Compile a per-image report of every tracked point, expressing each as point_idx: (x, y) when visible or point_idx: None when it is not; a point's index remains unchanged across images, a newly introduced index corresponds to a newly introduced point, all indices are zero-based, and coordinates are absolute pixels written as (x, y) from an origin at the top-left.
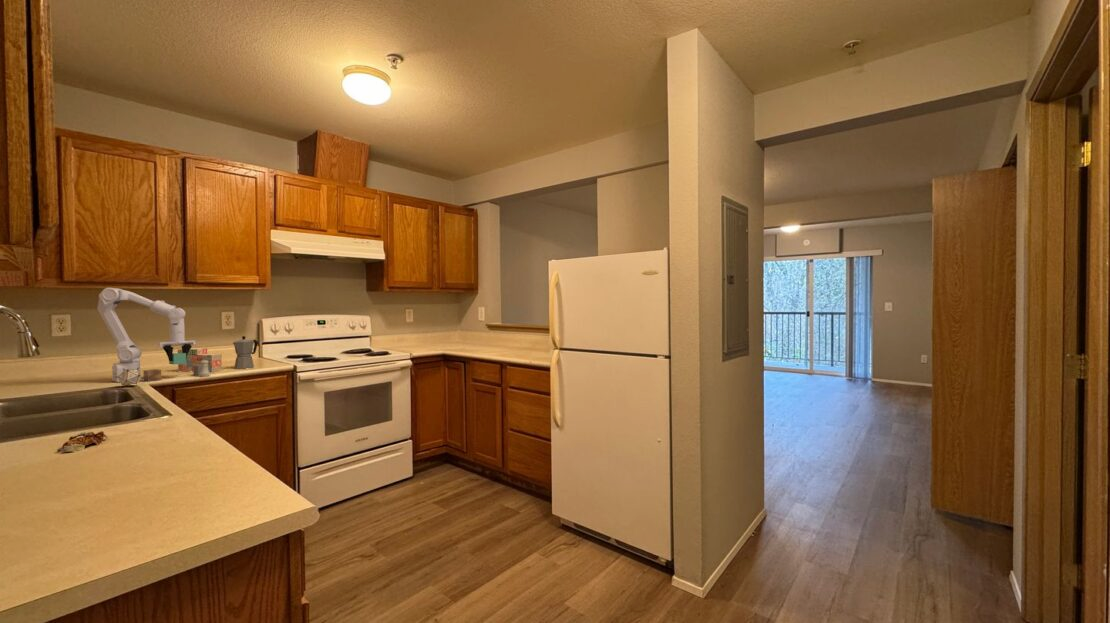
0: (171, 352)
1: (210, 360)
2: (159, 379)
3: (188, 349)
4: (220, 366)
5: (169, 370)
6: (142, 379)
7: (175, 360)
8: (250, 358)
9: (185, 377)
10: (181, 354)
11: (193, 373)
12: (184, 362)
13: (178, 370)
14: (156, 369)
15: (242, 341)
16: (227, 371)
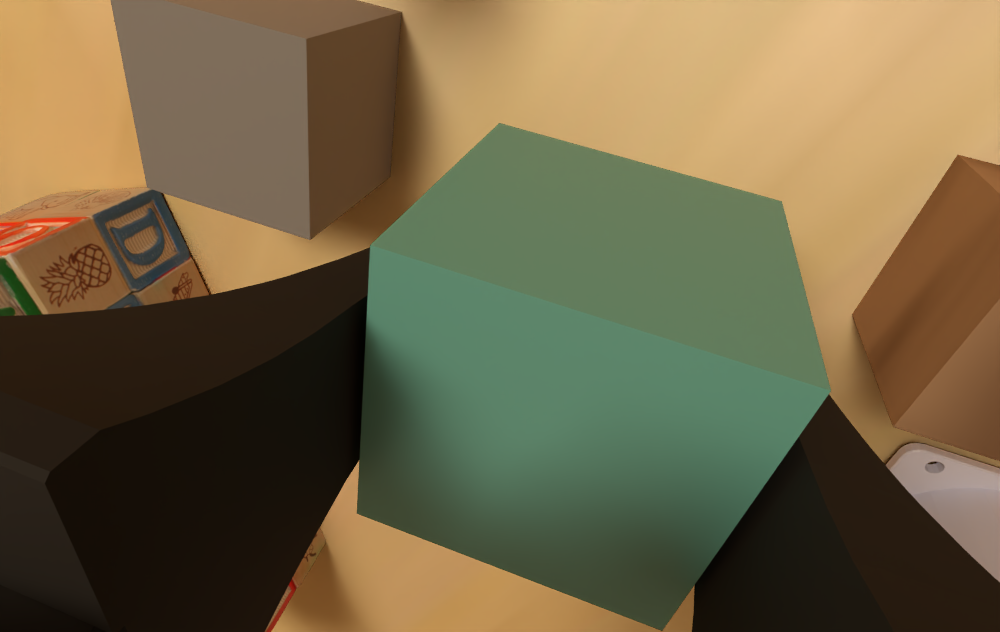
0: (871, 528)
1: (14, 280)
2: (994, 170)
3: (161, 325)
4: (6, 216)
5: (329, 627)
6: (932, 447)
7: (746, 241)
8: None
9: (594, 45)
10: (537, 279)
11: (377, 186)
12: (530, 140)
13: (320, 549)
14: (954, 392)
15: None
16: (3, 42)
